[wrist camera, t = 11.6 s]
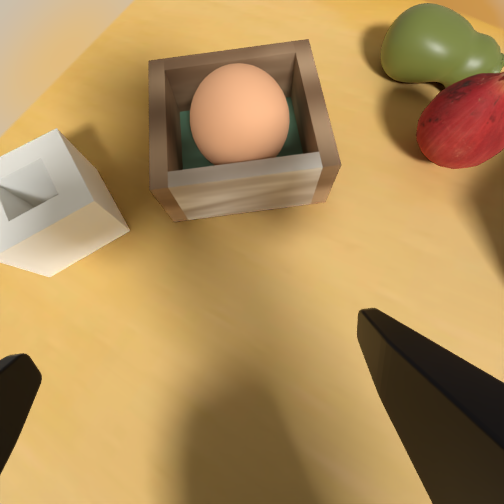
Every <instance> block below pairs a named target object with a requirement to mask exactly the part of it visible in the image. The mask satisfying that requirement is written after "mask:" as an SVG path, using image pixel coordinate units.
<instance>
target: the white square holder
mask: <svg viewBox="0 0 504 504" xmlns="http://www.w3.org/2000/svg"><path fill="white" fill-rule="evenodd" d="M129 231H130V229H129V227H128V225H127V224H126V222H125V220H124V218H123V216H122V214H121V213H120V211H119V209H118V207H117V205H116V203H115V202H114V200H113V198H112V196H111V194H110V192H109V191H108V189H107V187H106V185H105V183H104V181H103V180H102V178H101V176H100V174H99V172H98V170H97V169H96V168H95V167H94V166H93V165H92V164H91V163H90V162H89V161H88V160H87V159H86V158H85V157H84V156H83V155H82V154H81V153H80V152H79V151H78V150H77V149H76V148H75V147H74V146H73V145H72V143H71V142H70V141H69V140H68V139H67V138H66V137H65V136H64V135H63V134H62V133H61V132H60V131H59V130H58V129H57V128H56V129H54V130H52V131H50V132H48V133H46V134H44V135H42V136H40V137H38V138H36V139H34V140H32V141H30V142H28V143H26V144H25V145H23V146H21V147H19V148H17V149H15V150H13V151H11V152H9V153H7V154H5V155H3V156H1V157H0V263H4V264H7V265H10V266H14V267H17V268H20V269H24V270H27V271H30V272H34V273H37V274H40V275H44V276H47V277H51V276H53V275H55V274H56V273H58V272H60V271H62V270H63V269H65V268H67V267H69V266H70V265H72V264H74V263H75V262H77V261H79V260H81V259H82V258H84V257H86V256H88V255H89V254H91V253H93V252H94V251H96V250H98V249H100V248H101V247H103V246H105V245H106V244H108V243H110V242H112V241H113V240H115V239H117V238H119V237H120V236H122V235H124V234H125V233H127V232H129Z"/></svg>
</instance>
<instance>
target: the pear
mask: <svg viewBox="0 0 504 504" xmlns="http://www.w3.org/2000/svg"><path fill="white" fill-rule="evenodd" d="M380 59H381V65H382V67H383V69H384V71H385V73H386V74H387V75H388V76H389V77H391V78H392V79H394V80H396V81H400V82H407V83H422V82H439V83H442V84H443V85H444V86H445V88H447V87H448V86H450V85H452V84H454V83H456V82H458V81H460V80H463V79H465V78H467V77H470V76H473V75H476V74H481V73H500V72H501V70H502V67H504V54H503V53H500V46H499V45H498V44H497V42H496V41H495V40H494V39H493V38H492V37H490V36H488V35H485V34H482V33H479V32H477V31H475V30H474V28H473V27H472V26H471V24H470V23H469V22H468V21H467V20H466V19H465V18H464V17H462V16H461V15H460V14H458V13H456V12H455V11H453V10H451V9H449V8H447V7H444V6H441V5H437V4H431V3H424V4H419V5H415V6H413V7H411V8H409V9H407V10H406V11H404V12H403V13H402V14H401V15H400V16H399V17H398V18H397V19H396V20H395V21H394V22H393V24H392V25H391V26H390V28H389V30H388V31H387V33H386V35H385V38H384V40H383V43H382V47H381V53H380Z"/></svg>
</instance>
